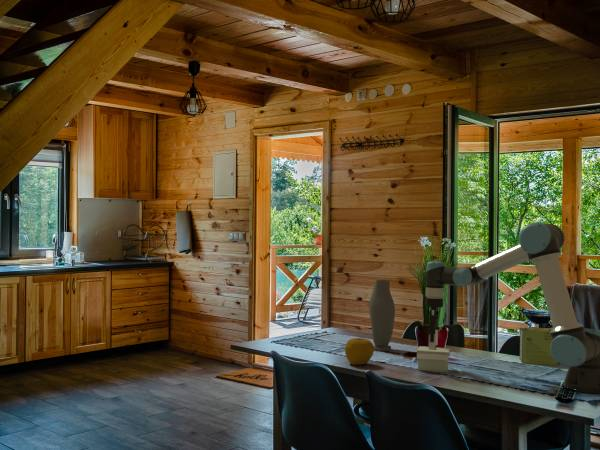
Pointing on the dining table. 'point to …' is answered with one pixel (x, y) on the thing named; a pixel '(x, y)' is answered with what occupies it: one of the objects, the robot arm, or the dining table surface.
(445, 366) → the tub
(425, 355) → the lid
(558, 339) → the robot arm
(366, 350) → the apple
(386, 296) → the vase
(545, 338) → the protein box
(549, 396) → the dining table surface
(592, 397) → the dining table surface
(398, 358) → the dining table surface
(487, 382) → the dining table surface
